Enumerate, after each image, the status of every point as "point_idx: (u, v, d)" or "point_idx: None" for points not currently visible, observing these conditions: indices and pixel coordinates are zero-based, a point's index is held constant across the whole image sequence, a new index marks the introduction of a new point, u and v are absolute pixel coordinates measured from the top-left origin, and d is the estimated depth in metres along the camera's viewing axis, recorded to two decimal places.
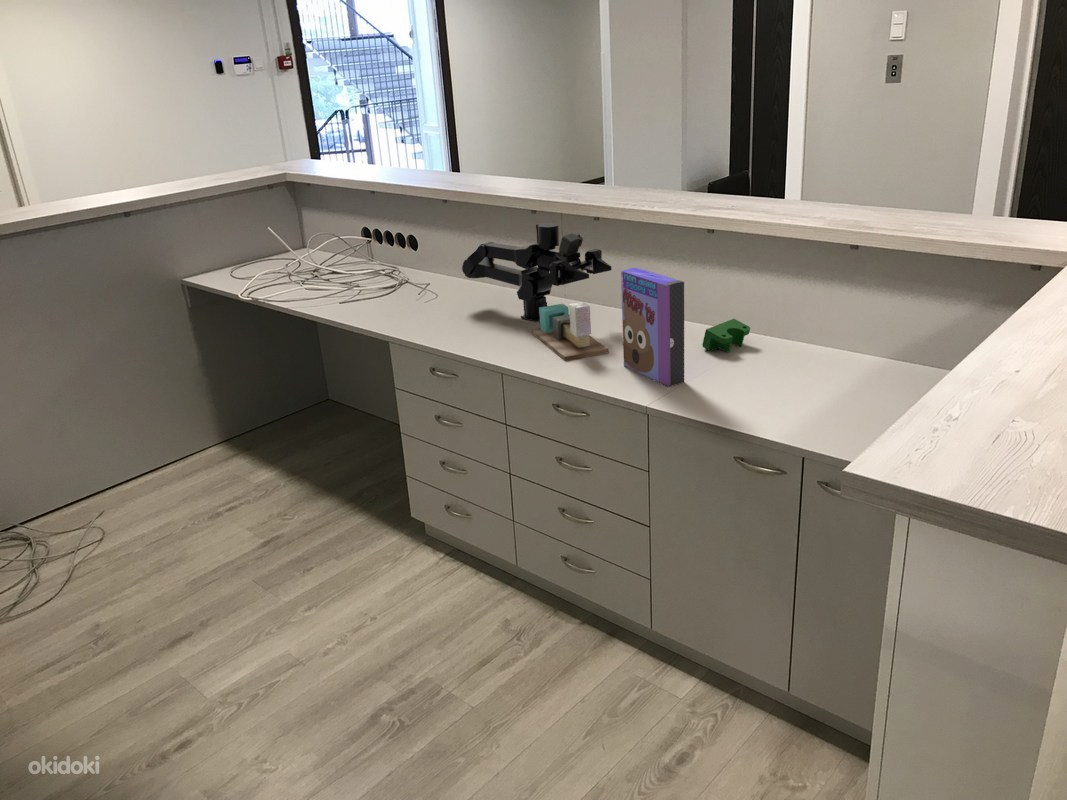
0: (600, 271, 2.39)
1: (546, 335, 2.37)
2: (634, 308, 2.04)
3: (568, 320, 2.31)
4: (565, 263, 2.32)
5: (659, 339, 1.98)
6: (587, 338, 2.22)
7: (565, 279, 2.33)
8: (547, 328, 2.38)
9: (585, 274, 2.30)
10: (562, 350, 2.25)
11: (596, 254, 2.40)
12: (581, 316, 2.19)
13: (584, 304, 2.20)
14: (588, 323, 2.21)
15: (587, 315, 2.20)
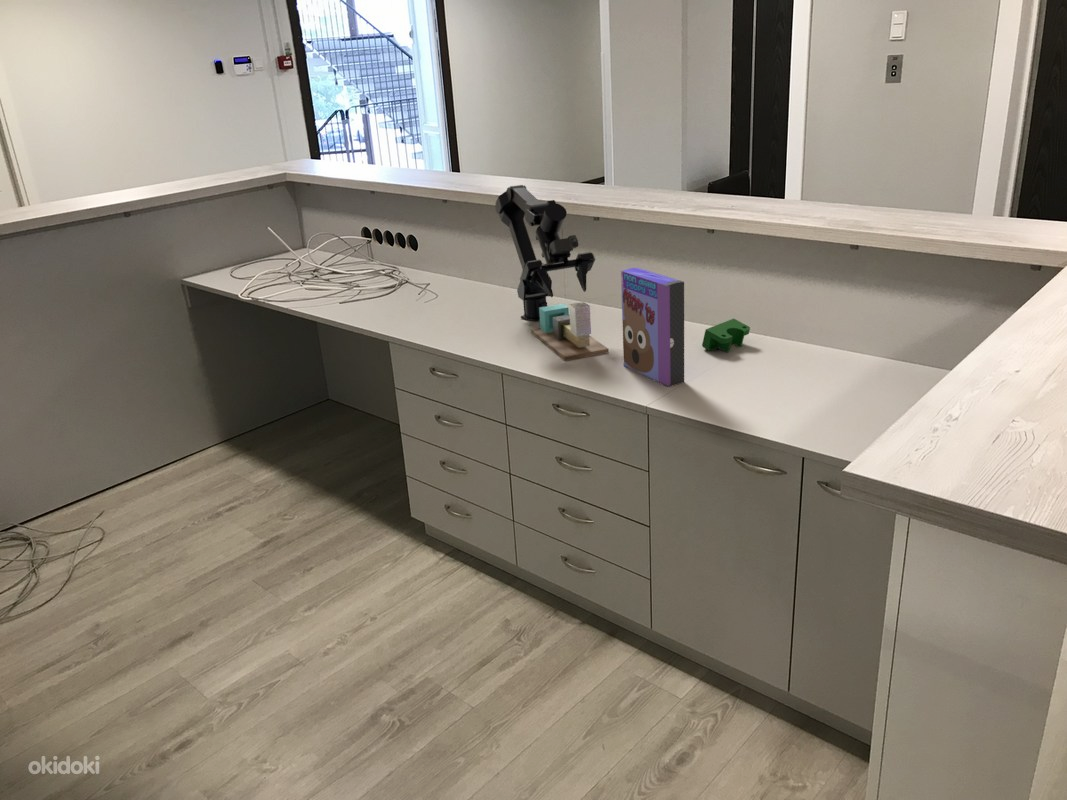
0: (579, 281, 2.31)
1: (546, 335, 2.37)
2: (634, 308, 2.04)
3: (568, 320, 2.31)
4: (540, 270, 2.25)
5: (659, 339, 1.98)
6: (587, 338, 2.22)
7: (536, 280, 2.28)
8: (547, 328, 2.38)
9: (550, 293, 2.25)
10: (562, 350, 2.25)
11: (584, 264, 2.28)
12: (581, 316, 2.19)
13: (584, 304, 2.20)
14: (588, 323, 2.21)
15: (587, 315, 2.20)
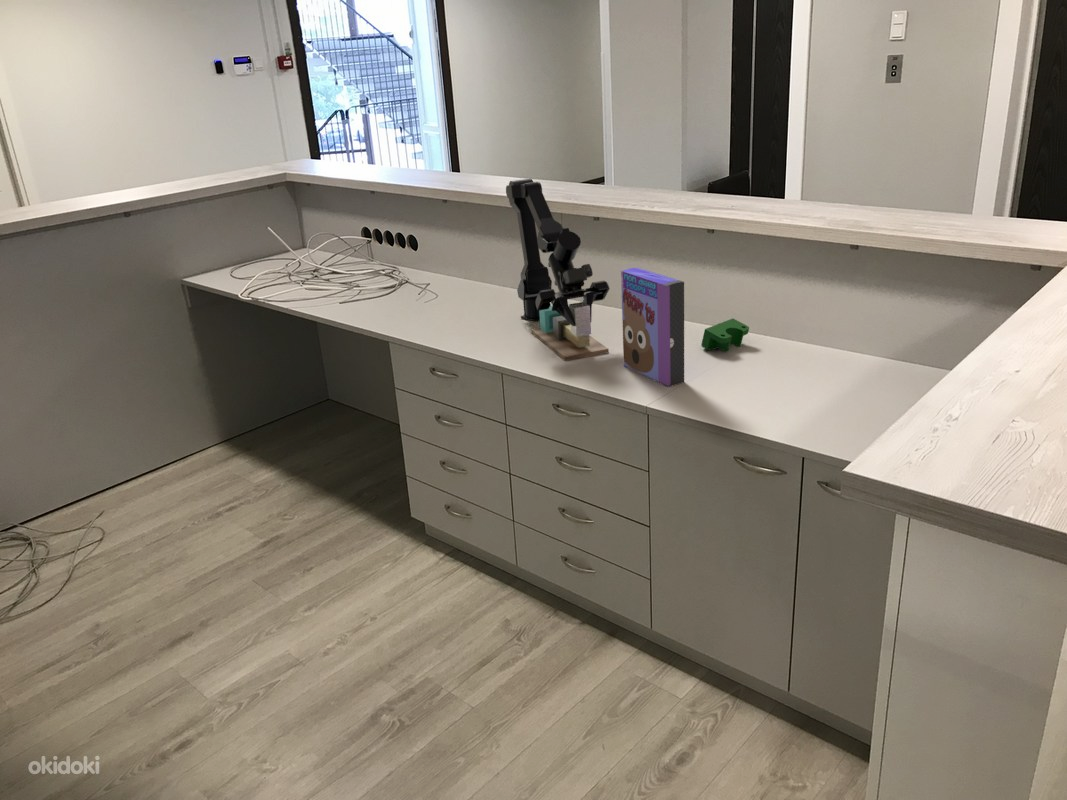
0: None
1: (546, 335, 2.37)
2: (634, 308, 2.04)
3: None
4: (561, 298, 2.20)
5: (659, 339, 1.98)
6: (587, 338, 2.22)
7: (557, 308, 2.23)
8: (547, 328, 2.38)
9: (572, 322, 2.20)
10: (562, 350, 2.25)
11: (590, 295, 2.22)
12: (581, 316, 2.19)
13: (584, 304, 2.20)
14: (588, 323, 2.21)
15: (587, 315, 2.20)
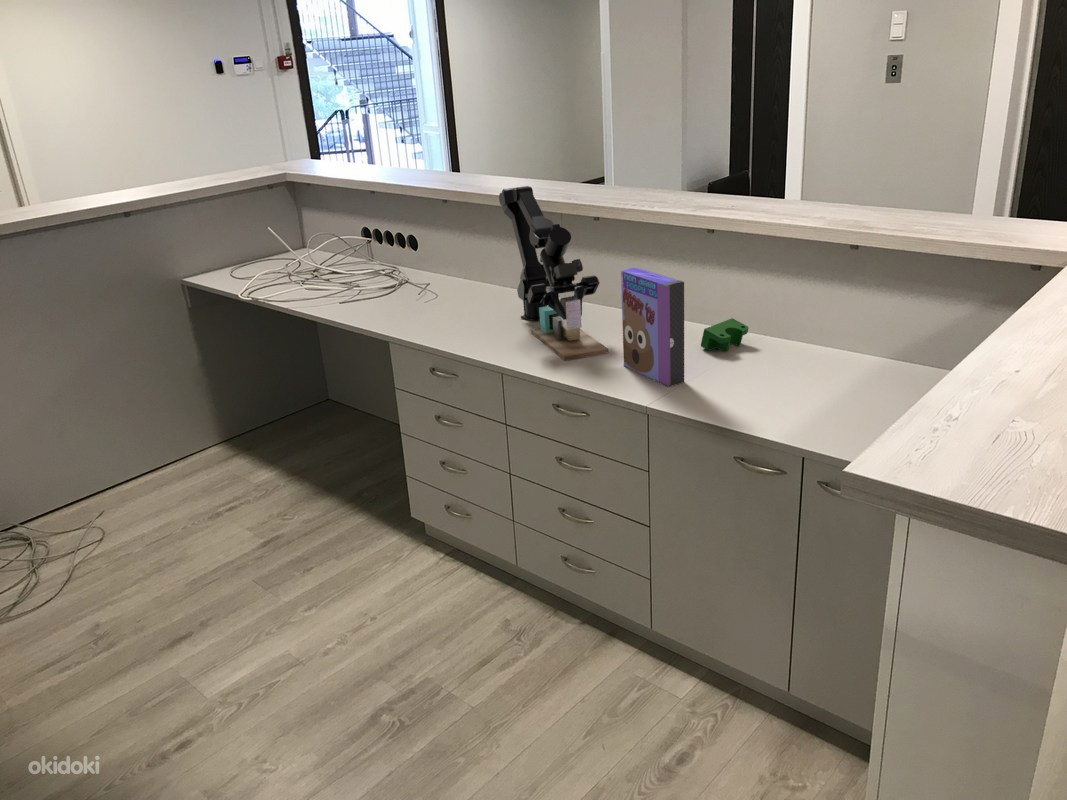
0: None
1: (546, 335, 2.37)
2: (634, 308, 2.04)
3: None
4: (553, 292, 2.25)
5: (659, 339, 1.98)
6: (578, 331, 2.28)
7: (549, 302, 2.29)
8: (547, 328, 2.38)
9: (563, 315, 2.26)
10: (562, 350, 2.25)
11: (580, 289, 2.27)
12: (572, 309, 2.25)
13: (575, 298, 2.26)
14: (579, 317, 2.26)
15: (578, 309, 2.25)
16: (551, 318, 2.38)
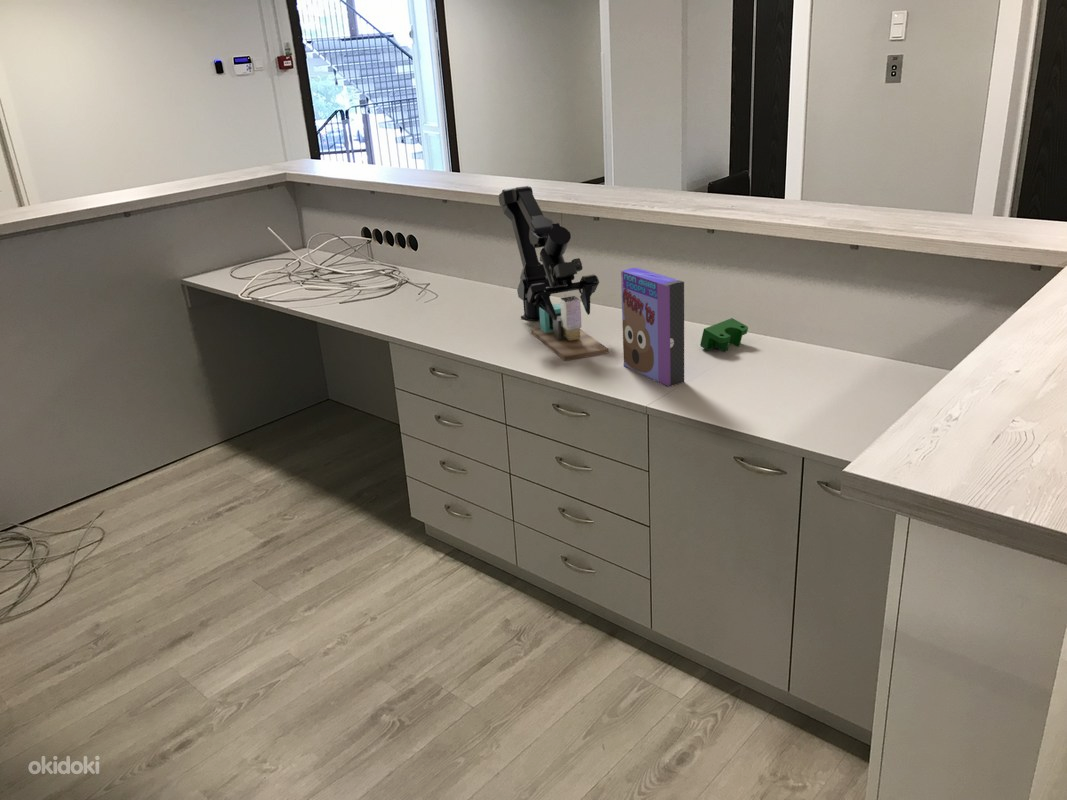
0: (583, 304, 2.31)
1: (546, 335, 2.37)
2: (634, 308, 2.04)
3: None
4: (543, 293, 2.25)
5: (659, 339, 1.98)
6: (578, 331, 2.28)
7: (540, 302, 2.28)
8: (547, 328, 2.38)
9: (554, 316, 2.25)
10: (562, 350, 2.25)
11: (588, 287, 2.28)
12: (572, 309, 2.25)
13: (575, 298, 2.26)
14: (579, 317, 2.26)
15: (578, 309, 2.25)
16: (551, 318, 2.38)
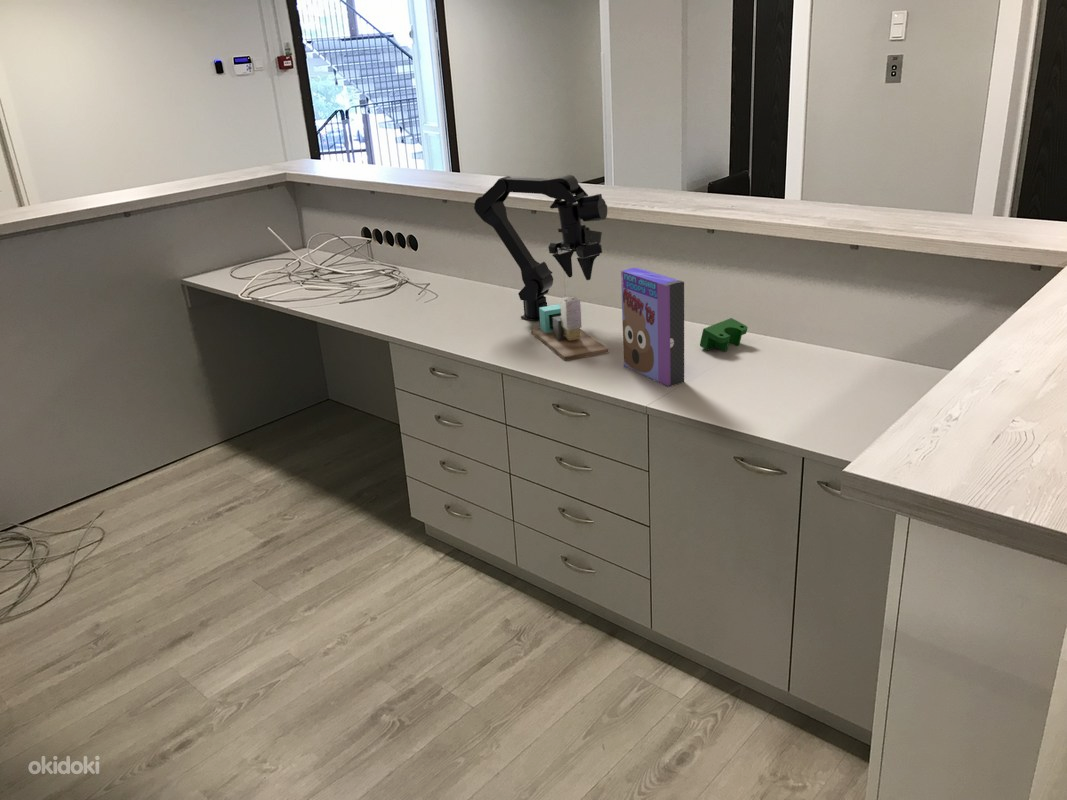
0: (563, 265, 2.46)
1: (546, 335, 2.37)
2: (634, 308, 2.04)
3: None
4: None
5: (659, 339, 1.98)
6: (578, 331, 2.28)
7: None
8: (547, 328, 2.38)
9: (590, 276, 2.40)
10: (562, 350, 2.25)
11: None
12: (572, 309, 2.25)
13: (575, 298, 2.26)
14: (579, 317, 2.26)
15: (578, 309, 2.25)
16: (551, 318, 2.38)
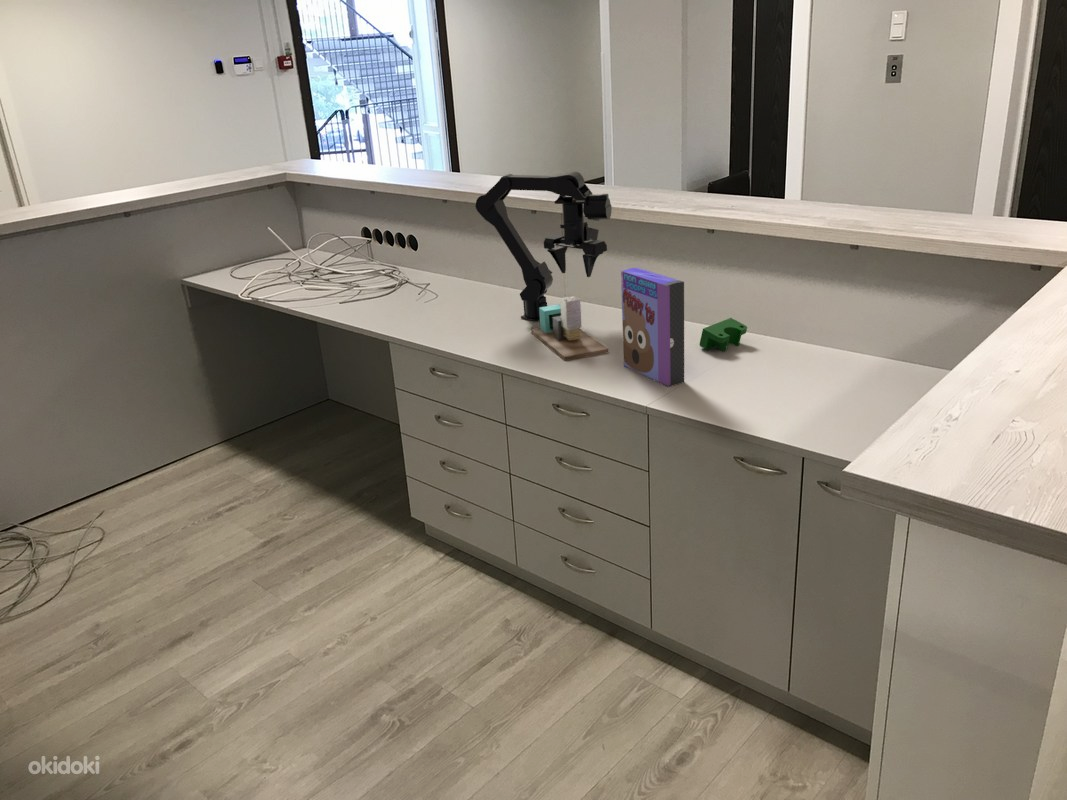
0: (559, 260, 2.47)
1: (546, 335, 2.37)
2: (634, 308, 2.04)
3: None
4: None
5: (659, 339, 1.98)
6: (578, 331, 2.28)
7: None
8: (547, 328, 2.38)
9: (590, 274, 2.43)
10: (562, 350, 2.25)
11: None
12: (572, 309, 2.25)
13: (575, 298, 2.26)
14: (579, 317, 2.26)
15: (578, 309, 2.25)
16: (551, 318, 2.38)
